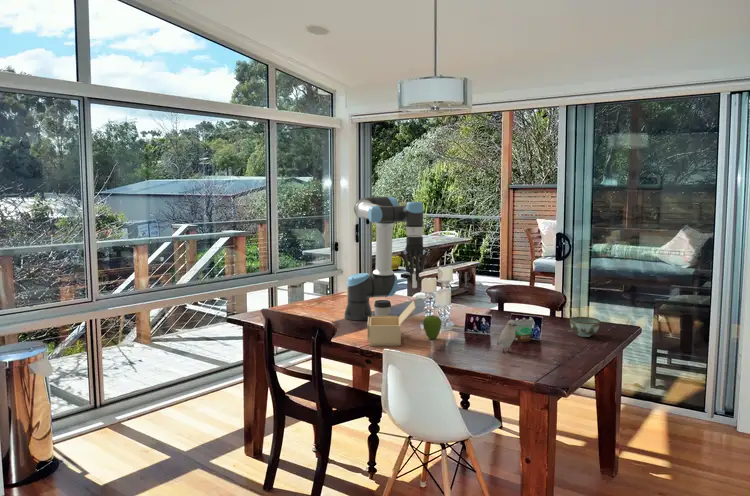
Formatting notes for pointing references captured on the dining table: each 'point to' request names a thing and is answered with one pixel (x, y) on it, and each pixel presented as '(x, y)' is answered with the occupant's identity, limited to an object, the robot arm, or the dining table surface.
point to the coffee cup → (382, 308)
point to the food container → (523, 330)
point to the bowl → (584, 326)
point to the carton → (384, 331)
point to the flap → (407, 312)
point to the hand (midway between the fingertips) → (414, 287)
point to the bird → (507, 335)
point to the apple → (432, 326)
